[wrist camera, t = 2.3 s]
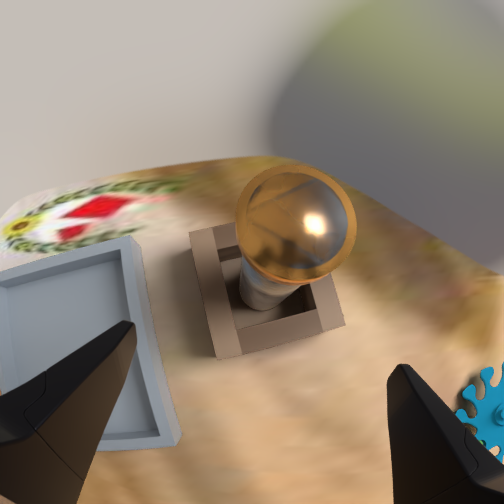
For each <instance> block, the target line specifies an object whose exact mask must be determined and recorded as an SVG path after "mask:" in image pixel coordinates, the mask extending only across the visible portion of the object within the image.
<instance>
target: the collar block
mask: <svg viewBox="0 0 504 504" xmlns="http://www.w3.org/2000/svg"><path fill="white" fill-rule="evenodd" d="M189 237H190V242H191V247H192V252H193V257H194V262H195V267H196V272H197V276H198V281H199V286H200V290H201V295H202V299H203V304H204V308H205V312H206V317H207V321H208V325H209V329H210V333H211V338H212V342H213V346H214V350H215V354H216V358H217V360H221V359H226V358H230V357H234V356H239V355H243V354H247V353H251V352H255V351H259V350H263V349H267V348H270V347H274V346H278V345H282V344H285V343H289V342H292V341H296V340H299V339H303V338H306V337H310V336H313V335H316V334H320V333H323V332H326V331H329V330H332V329H335V328H339V327H342V326H345V321H344V317H343V314H342V310H341V307H340V303H339V300H338V296H337V293H336V289H335V286H334V282H333V279H332V276H331V272H330V273H329V274H328V275H326V276H325V277H323V278H322V279H320V280H318V281H316V282H313V283H310V284H305V285H301V286H300V287H299V290H300V294H301V297H302V301H303V305H304V308H305V312H304V313H300V314H296V315H293V316H289V317H285V318H282V319H278V320H274V321H270V322H266V323H262V324H258V325H254V326H250V327H246V328H242V329H238V330H236V327H235V323H234V319H233V315H232V311H231V307H230V303H229V299H228V295H227V291H226V287H225V282H224V278H223V274H222V270H221V265H220V262H221V261H225V260H230V259H234V258H238V257H242V253H241V251H240V249H239V246H238V243H237V238H236V222H233V223H229V224H224V225H220V226H215V227H211V228H206V229H202V230H197V231H193V232H189Z"/></svg>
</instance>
